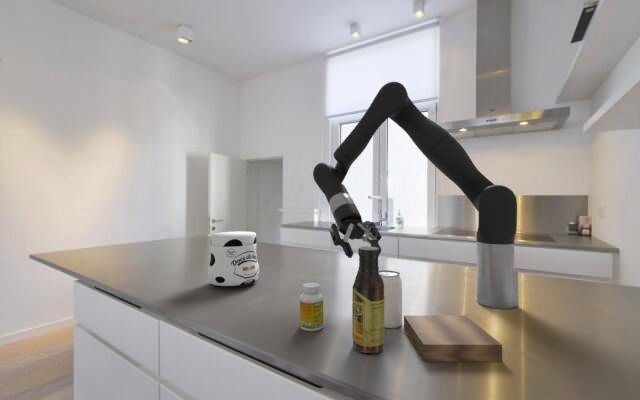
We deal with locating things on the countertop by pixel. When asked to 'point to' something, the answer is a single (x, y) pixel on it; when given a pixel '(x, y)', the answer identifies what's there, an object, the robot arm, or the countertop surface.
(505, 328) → the countertop surface
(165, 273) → the countertop surface
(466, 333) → the plinth
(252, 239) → the milk container
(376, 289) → the sauce bottle
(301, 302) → the supplement bottle
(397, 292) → the can
